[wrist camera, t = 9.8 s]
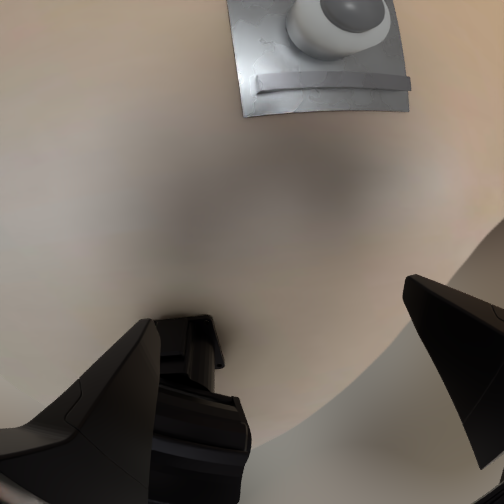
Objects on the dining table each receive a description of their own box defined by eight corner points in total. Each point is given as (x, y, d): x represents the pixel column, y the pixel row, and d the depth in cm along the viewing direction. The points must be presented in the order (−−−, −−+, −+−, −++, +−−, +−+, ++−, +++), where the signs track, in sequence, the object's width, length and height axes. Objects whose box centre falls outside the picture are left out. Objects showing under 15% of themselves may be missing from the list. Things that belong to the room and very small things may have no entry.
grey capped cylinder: (363, 62, 15) (406, 50, 10) (291, 61, 15) (316, 41, 10) (351, 0, 13) (388, -26, 8) (280, -4, 13) (299, -40, 8)
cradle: (405, 111, 17) (424, 113, 15) (243, 117, 17) (245, 117, 15) (381, -25, 12) (396, -36, 10) (221, -34, 12) (220, -50, 10)
